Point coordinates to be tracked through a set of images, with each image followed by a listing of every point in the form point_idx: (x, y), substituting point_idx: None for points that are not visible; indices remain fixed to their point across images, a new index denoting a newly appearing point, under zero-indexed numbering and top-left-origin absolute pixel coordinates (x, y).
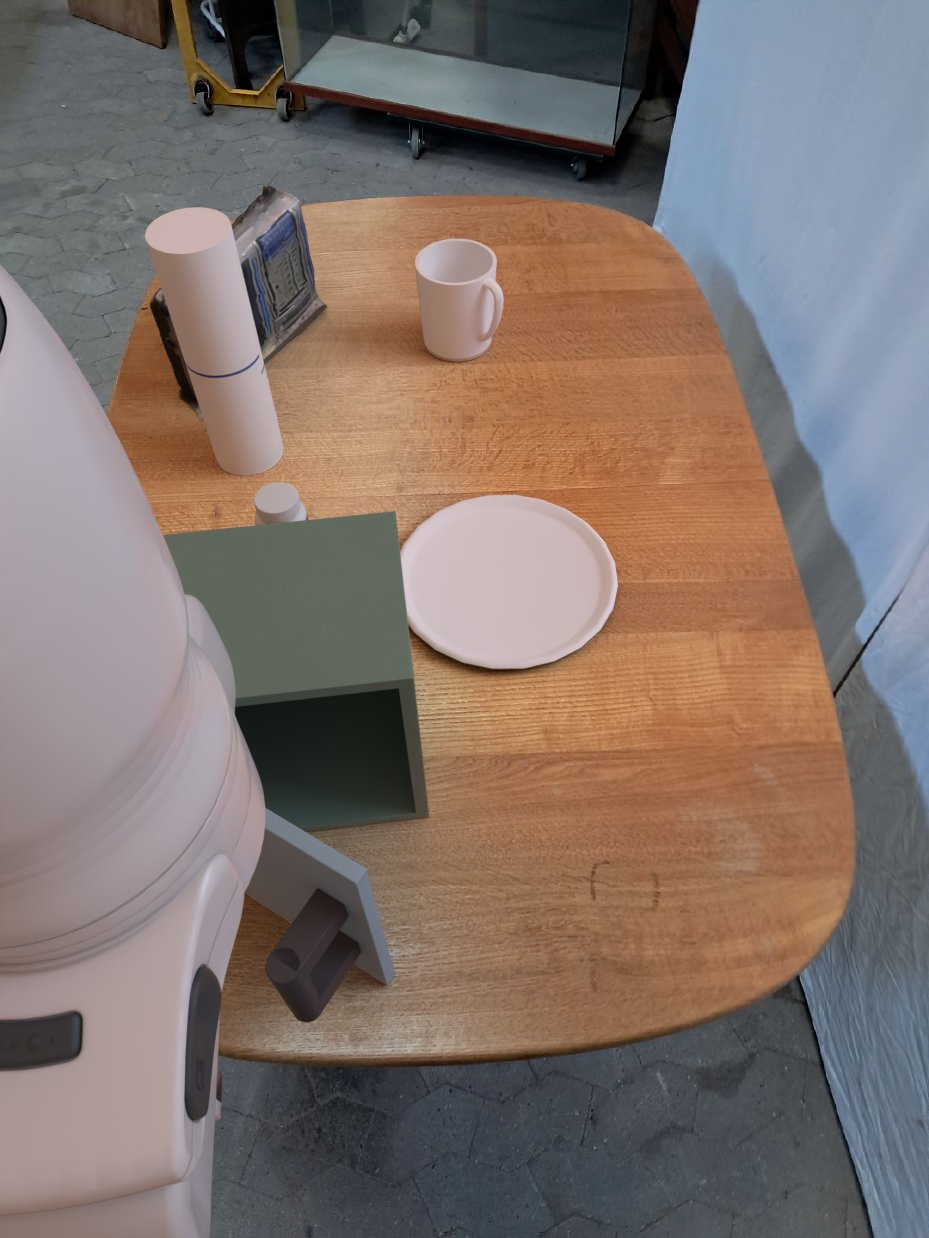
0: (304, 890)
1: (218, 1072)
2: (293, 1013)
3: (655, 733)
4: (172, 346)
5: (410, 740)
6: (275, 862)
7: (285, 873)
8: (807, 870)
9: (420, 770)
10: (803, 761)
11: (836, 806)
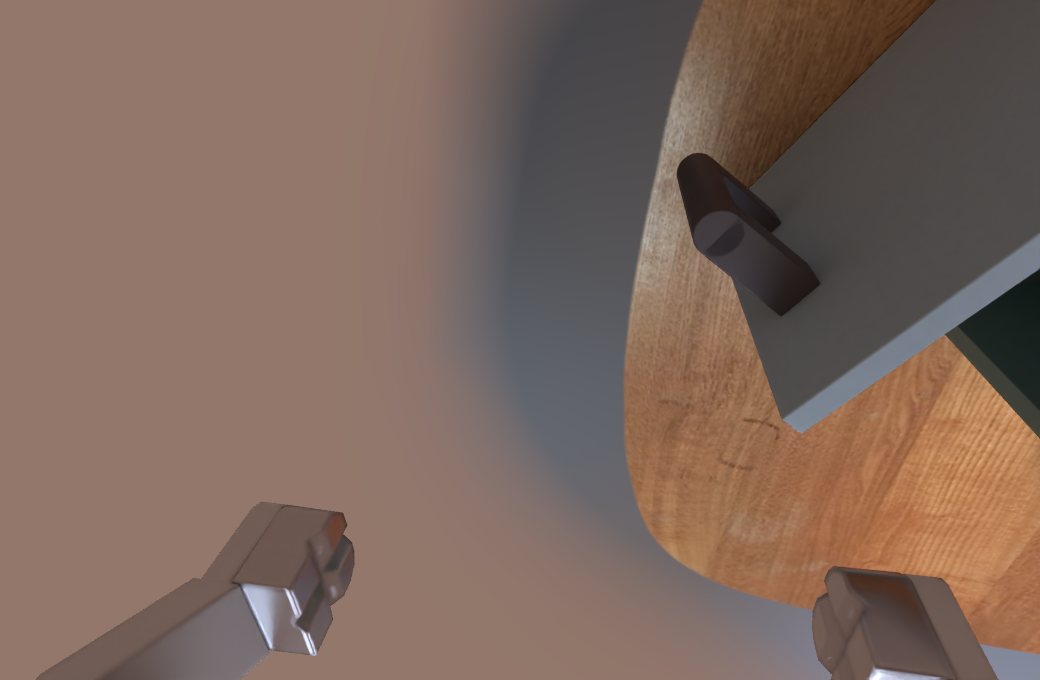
0: (832, 235)
1: (339, 597)
2: (685, 167)
3: (899, 508)
4: None
5: (1016, 395)
6: (889, 223)
7: (867, 223)
8: (717, 561)
9: (964, 351)
10: (814, 591)
11: (764, 595)
